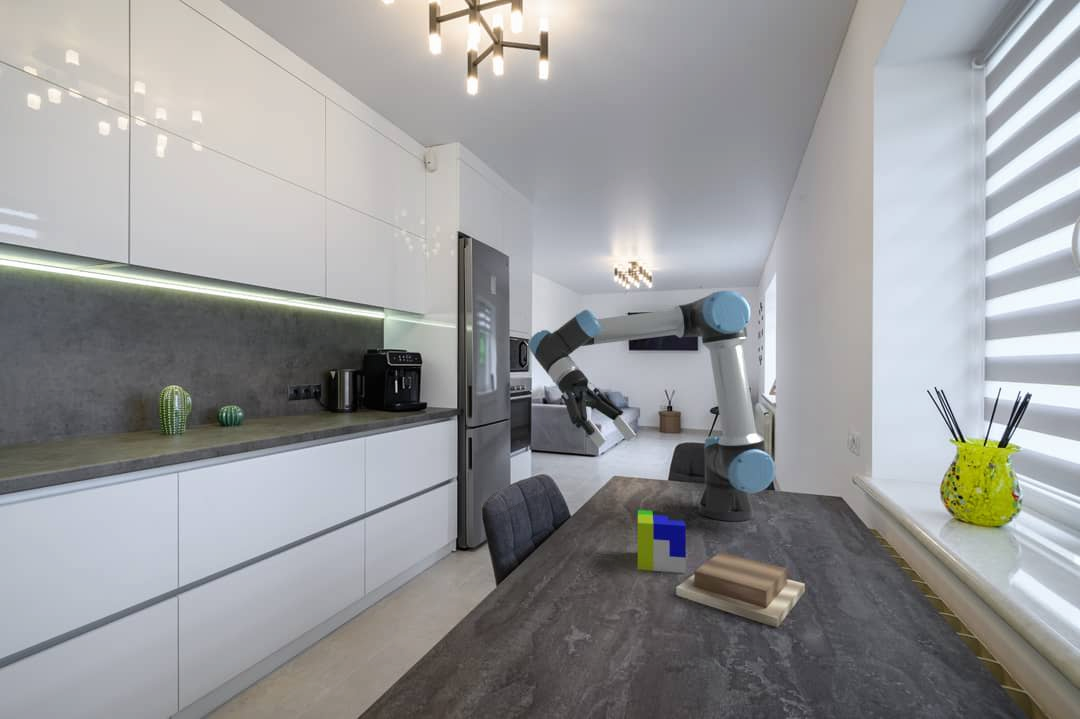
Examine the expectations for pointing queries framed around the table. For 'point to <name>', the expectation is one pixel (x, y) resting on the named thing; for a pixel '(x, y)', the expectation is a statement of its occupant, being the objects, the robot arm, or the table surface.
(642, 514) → the puzzle toy
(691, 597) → the build plinth
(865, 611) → the table surface
